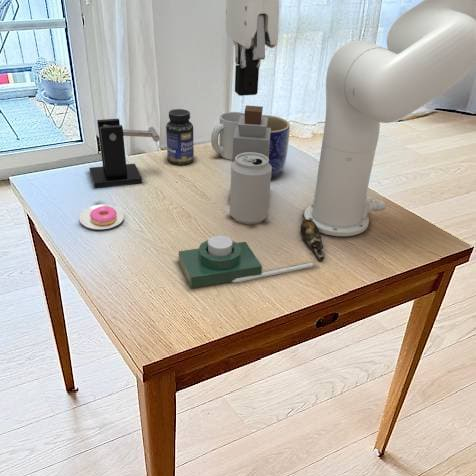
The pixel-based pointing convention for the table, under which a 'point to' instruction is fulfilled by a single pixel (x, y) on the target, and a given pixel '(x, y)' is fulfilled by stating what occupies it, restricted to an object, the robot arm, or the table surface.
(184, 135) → the pill bottle
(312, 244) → the bird model
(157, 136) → the flush lever
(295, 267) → the pencil
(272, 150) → the planter
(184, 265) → the button block
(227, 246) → the flush button
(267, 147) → the perfume bottle
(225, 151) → the cup
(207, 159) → the table surface
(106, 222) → the donut
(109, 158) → the lever bracket
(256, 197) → the can
